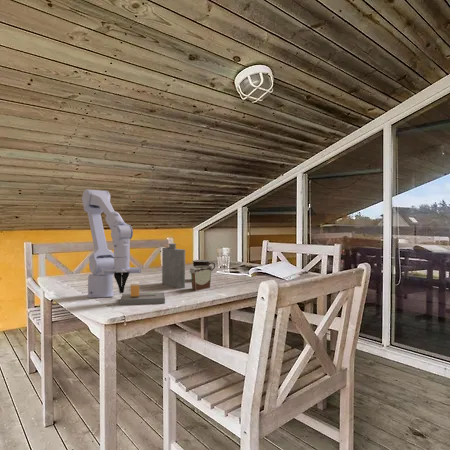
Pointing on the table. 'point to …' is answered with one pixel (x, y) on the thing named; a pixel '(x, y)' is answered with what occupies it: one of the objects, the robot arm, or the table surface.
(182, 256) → the hip flask
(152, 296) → the panel
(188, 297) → the table surface
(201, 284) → the food container
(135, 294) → the knob
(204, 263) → the coffee mug
